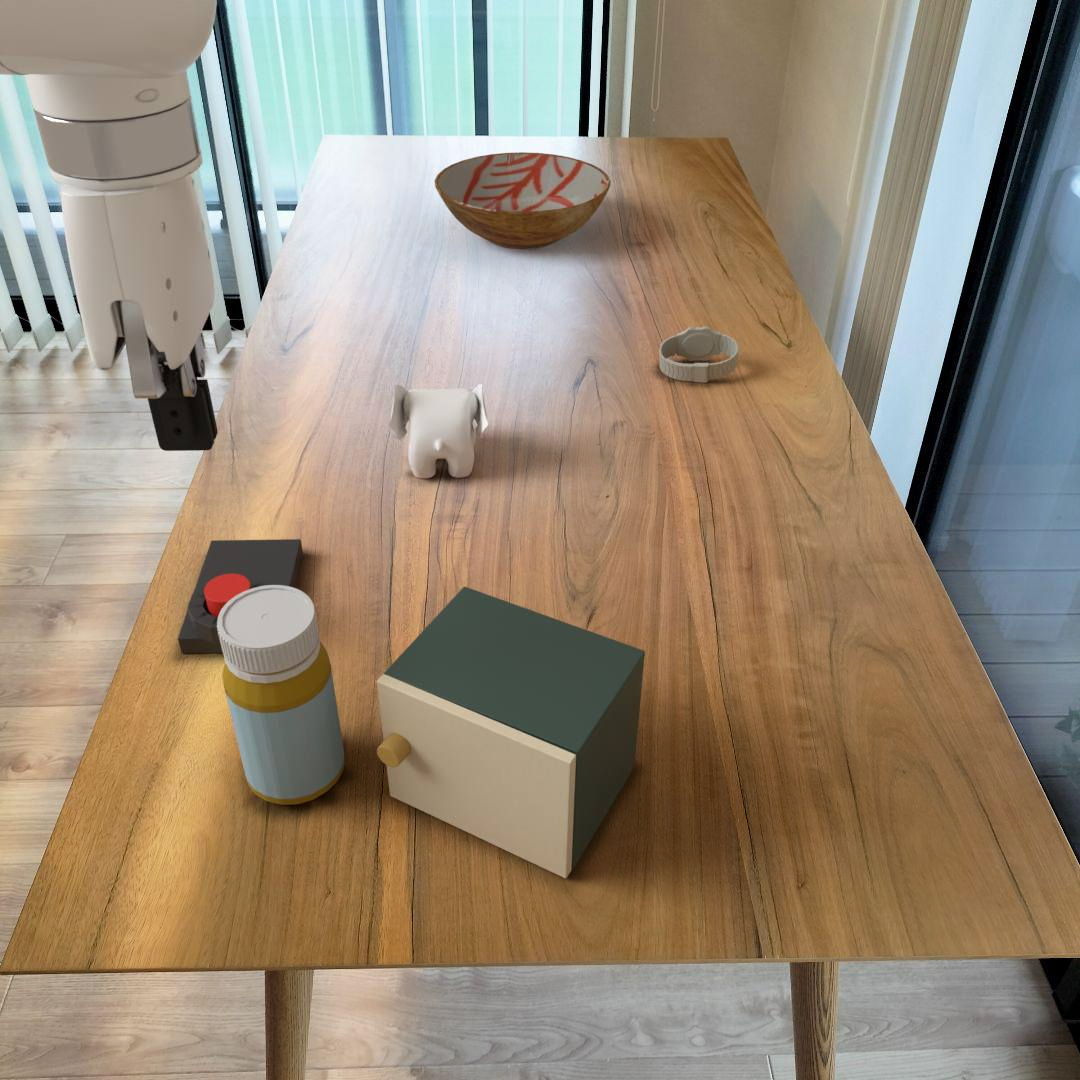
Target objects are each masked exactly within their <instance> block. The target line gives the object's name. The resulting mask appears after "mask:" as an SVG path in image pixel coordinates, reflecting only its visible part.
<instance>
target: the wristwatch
mask: <svg viewBox="0 0 1080 1080" xmlns="http://www.w3.org/2000/svg"><path fill="white" fill-rule="evenodd" d="M659 345H660V346H659V349H658V355H659V356H658V358H659V369H660V371H661V373H662V374H663V375H664V376H666V377H669V378H670V379H673V380H676V381H683V382H694V383H705V384H706V383H709V381H710V380H716V379H717V380H718V379H721V378H723V377H726V376H727V377H728V375H730V374H732V373H733V372H735V370H737V367H738V361H739V359H738V358H739V345H738V343H737V341H736V340H735V339H734V338H733V337H731V336H729V335H727V334H724V333H723V334H722V332H721V331H716V330H714V329H712V328H710V326H699V327H698V326H697V327H695V326H688V327H687V328H686V329H685V330H683V331H681V332H679V333H676V334H675V335H671V336H670V337H668V338H666V339H664V340H663V341H662V342H661V344H659ZM721 354H722V355H725V356H728V357H729V358H727V359H724V360H721V361H719V362H713V363H710V362H705V361H709V360H710V359H711V358H713V357H715V356H719V355H721ZM674 356H675V357H676V356H678V357H682V358H684V359H686V360H687V361H688V362H693V363H683V362H678V361H674V360H673V359H670V357H674ZM695 361H704V362H695Z"/></svg>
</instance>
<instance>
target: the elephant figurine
mask: <svg viewBox="0 0 1080 1080" xmlns="http://www.w3.org/2000/svg"><path fill="white" fill-rule="evenodd" d="M485 402H486V401H485V398H484V390H483V383H479V384H477V385H476V386H475V387H474V389H473V390H472V389H471V388H467V387H459V388H413V389H410V390H407V389H406V388H405V387H404V386H402V385H401V384H395V385H394V389H393V399H392V406H391V413H390V419H389V424H388V425H389V427H390V428H391V429H392V431H394V433H395V438H396V439H397V440H403V439H404V438H405V436H406V435H407V433H408V450H407V459H408V464H409V467H410V470H411V472H412V474H413V476H414V477H416V478H418V479H430V478H432V477H434V476H435V475H436V473H437V465H436V462H437V460H438V459H443V460H445V461H446V462H447V465H448V466H447V467H448V469H447V470H448V471H447V472H448V474H449V475H450V476H451V477H453V478H457V479H460V478H466V477H468V476H470V474H471V473H472V471H473V468H474V465H475V464H474V463H475V450H474V449H475V445H476V436H477V437H478V439H482V438H484V430H485V429H486V428H487V427H488V425H489V419H488V414H487V408H486V403H485ZM474 421H475V422H476V428H474ZM407 424H408V429H407V427H406V426H407Z"/></svg>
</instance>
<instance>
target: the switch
mask: <svg viewBox="0 0 1080 1080" xmlns="http://www.w3.org/2000/svg"><path fill="white" fill-rule="evenodd" d="M303 555H304V551H303V546H302V540H301V539H299V538H295V539H293V538H292V539H291V538H290V539H286V538H285V539H283V538H281V539H226V540H225V539H223V540H222V539H220V540H215V539H213V540H211V541H210V543H209V546H208V550H207V552H206V555H205V558H204V561H203V564H202V567H201V569H200V572H199V576H198V579H197V581H196V584H195V588H194V590H193V593H192V594H191V596H190V600H189V602H188V605H187V610H186V613H185V616H184V619H183V622H182V625H181V627H180V631H179V634H178V636H177V641H178V645H179V648H180V653H181V654H182V655H183V654H223V651H222V647H221V643H220V639H219V635H218V630H217V620H218V617H216V616H213V615H212V614H211V613H210V612H209V610H208V606H207V602H206V598H205V594H204V589H205V586H206V585H207V584H208V582H209V581H211V580H212V579H214V578H216V577H218V576H221V575H224V574H239V575H242V576H244V577H246V578H247V579H248V580H249V582H250V586H251V589H252V588H256V587H260V586H266V585H283V586H289V587H293V588H296V587H297V586H296V585H297V581H298V577H299V573H300V568H301V564H302V559H303Z"/></svg>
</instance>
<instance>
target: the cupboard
mask: <svg viewBox="0 0 1080 1080" xmlns="http://www.w3.org/2000/svg"><path fill="white" fill-rule="evenodd" d="M645 656H646V651H645V650H643V649H640V648H638V647H636V646H632V645H631V644H630V645H629V644H627V643H624V642H621V641H619V640H615V639H613V638H610V637H607V636H605V635H602V634H598V633H596V632H593V631H590V630H587V629H585V628H582V627H580V626H577V625H574V624H571V623H568V622H565V621H562V620H559V619H557V618H554V617H551V616H549V615H546V614H543V613H541V612H538V611H535V610H532V609H529V608H527V607H523V606H520V605H518V604H515V603H512V602H509V601H507V600H505V599H501V598H499V597H495V596H493V595H490V594H487V593H484V592H482V591H479V590H476V589H473V588H470V587H467V586H465V585H464V586H463V587H462V588H461V589H460V590H459V591H458V592H457V593H456V594H455V595H454V597H453V598H452V599H451V600H450V601H449V602H447V604H446V605H445V606H444V607H443V609H441V611H440V612H439V613H438V614H437V615H436V616H435V617H434V618H433V619H432V620H431V622H430V623H429V624H428V625H427V626H425V628H424V629H423V630H422V631H421V632H420V633H419V634H418V636H416V638H415V639H414V640H413V641H411V643H410V644H409V645H408V646H407V647H406V649H405V650H404V651H403V652H401V654H400V655H399V656H398V657H397V658H396V659H395V661H394V662H393V663H391V665H390V666H389V667H388V668H387V669H386V670H385V671H384V672H383V674H385V675H388V676H390V677H392V678H395V679H397V680H400V681H402V682H404V683H407V684H409V685H411V686H414V687H416V688H419V689H421V690H423V691H426V692H428V693H430V694H433V695H435V696H438V697H440V698H442V699H445V700H447V701H449V702H452V703H454V704H457V705H459V706H461V707H464V708H466V709H468V710H471V711H473V712H476V713H478V714H480V715H483V716H485V717H487V718H490V719H492V720H495V721H497V722H499V723H502V724H504V725H506V726H509V727H511V728H514V729H516V730H518V731H521V732H523V733H525V734H528V735H530V736H533V737H535V738H537V739H540V740H542V741H544V742H547V743H549V744H552V745H554V746H556V747H559V748H561V749H564V750H566V751H568V752H571V753H573V754H575V755H576V770H575V794H574V818H573V842H572V867H571V871H572V870H574V869H575V867H576V866H577V864H578V862H580V861H579V860H580V859H581V858H582V856H583V854H584V852H585V850H586V849H587V847H588V846H589V844H590V842H591V840H592V839H593V837H594V836H595V834H596V832H597V830H598V829H599V828H600V826H601V824H602V823H603V820H604V819H605V817H606V816H607V814H608V813H609V810H610V809H611V808H612V806H613V804H614V802H616V801H615V800H616V799H617V797H618V796H619V794H620V792H621V791H622V789H623V787H624V786H625V784H626V782H627V781H628V779H629V778H630V776H631V774H632V772H633V771H634V769H635V765H636V754H637V743H638V742H637V741H638V733H639V723H640V708H641V701H642V700H641V699H642V690H643V679H644V668H645V666H644V665H645Z"/></svg>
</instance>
